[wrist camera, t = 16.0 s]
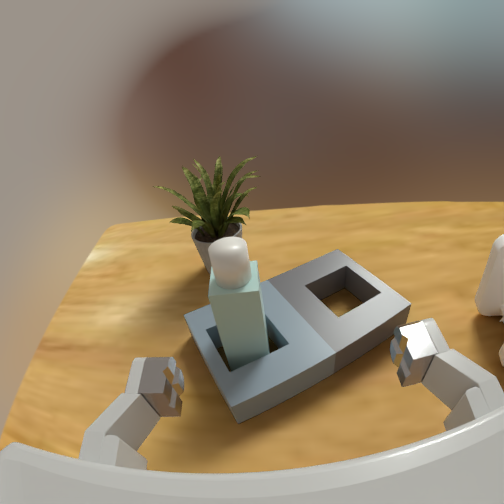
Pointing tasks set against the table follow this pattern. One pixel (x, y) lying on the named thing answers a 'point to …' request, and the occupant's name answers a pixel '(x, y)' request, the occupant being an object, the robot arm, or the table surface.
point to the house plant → (212, 208)
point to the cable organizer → (493, 286)
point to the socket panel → (302, 332)
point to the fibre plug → (237, 302)
